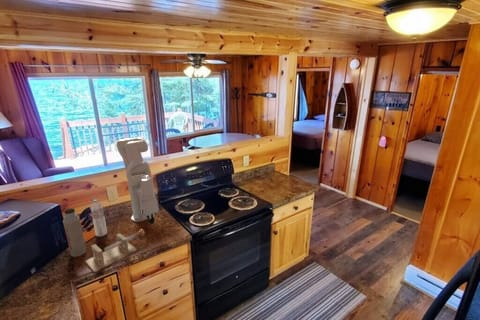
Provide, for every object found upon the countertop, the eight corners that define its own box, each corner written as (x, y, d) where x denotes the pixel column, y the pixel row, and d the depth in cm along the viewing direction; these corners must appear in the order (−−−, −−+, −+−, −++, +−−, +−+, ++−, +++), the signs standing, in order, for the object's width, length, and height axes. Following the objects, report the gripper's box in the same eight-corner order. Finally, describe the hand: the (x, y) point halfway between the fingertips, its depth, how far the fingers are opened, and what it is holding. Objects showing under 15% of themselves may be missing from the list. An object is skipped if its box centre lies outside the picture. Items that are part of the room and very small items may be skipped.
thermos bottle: (72, 258, 147) (61, 215, 139) (69, 251, 153) (59, 209, 144) (87, 252, 152) (78, 210, 143) (85, 246, 158) (76, 205, 149)
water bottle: (93, 236, 168) (86, 201, 161) (101, 230, 174) (95, 197, 167) (101, 237, 166) (95, 203, 159) (109, 232, 172) (103, 198, 165)
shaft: (141, 233, 164) (140, 227, 163) (145, 236, 161) (144, 230, 160) (103, 251, 147) (102, 245, 145) (107, 254, 144) (106, 248, 143)
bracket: (126, 242, 161) (124, 229, 158) (136, 250, 154) (134, 236, 151) (85, 262, 144) (82, 248, 141) (94, 272, 136) (91, 257, 133)
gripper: (155, 191, 168) (158, 216, 173) (134, 199, 157) (138, 226, 162) (162, 194, 163) (165, 220, 168) (140, 202, 152) (144, 229, 157)
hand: (151, 223), depth 165 cm, fingers closed
